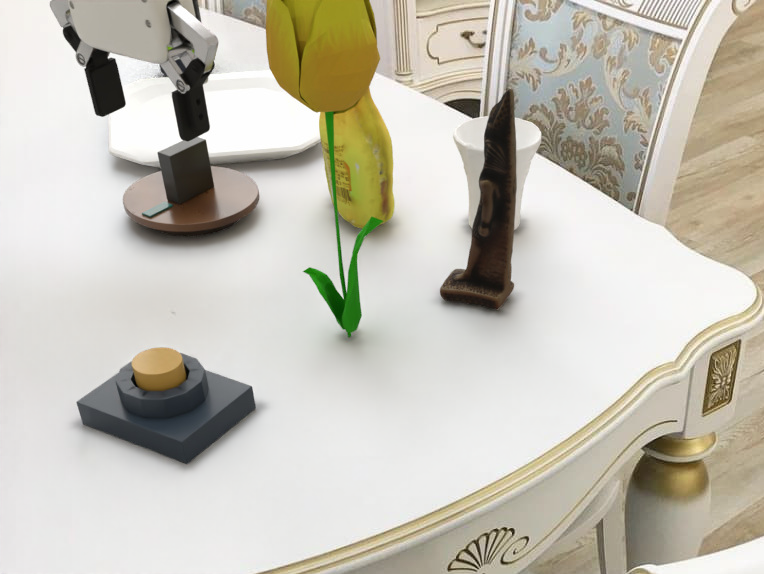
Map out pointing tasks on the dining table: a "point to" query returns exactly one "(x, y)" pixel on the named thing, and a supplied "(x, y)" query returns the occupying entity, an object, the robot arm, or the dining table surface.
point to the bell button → (158, 369)
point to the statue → (491, 218)
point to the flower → (327, 96)
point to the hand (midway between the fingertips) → (152, 123)
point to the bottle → (360, 163)
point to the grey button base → (168, 410)
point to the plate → (215, 120)
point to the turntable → (190, 192)
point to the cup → (472, 155)
